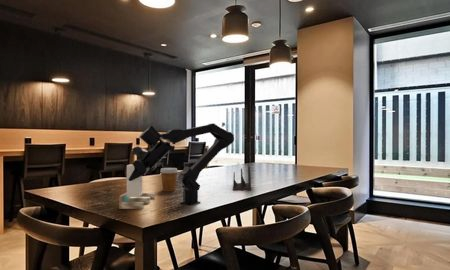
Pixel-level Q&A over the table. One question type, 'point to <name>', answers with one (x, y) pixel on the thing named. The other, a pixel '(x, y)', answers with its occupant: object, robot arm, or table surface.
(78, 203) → the table surface
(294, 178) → the table surface
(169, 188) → the disposable coffee cup
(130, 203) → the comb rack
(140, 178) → the plug block
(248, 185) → the letter holder
